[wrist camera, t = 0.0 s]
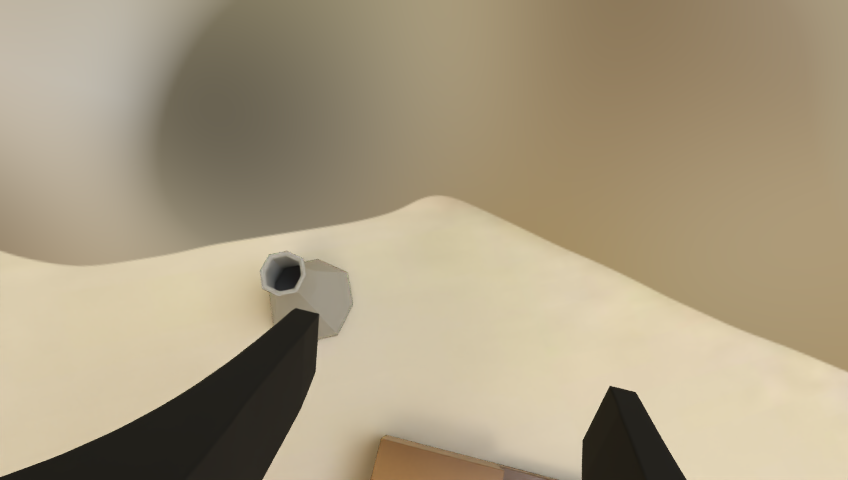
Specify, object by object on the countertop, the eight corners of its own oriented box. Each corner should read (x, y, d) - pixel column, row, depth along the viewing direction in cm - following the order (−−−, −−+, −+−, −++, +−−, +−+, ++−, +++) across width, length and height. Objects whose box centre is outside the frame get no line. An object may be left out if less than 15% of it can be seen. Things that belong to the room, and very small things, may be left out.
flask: (359, 264, 47) (342, 228, 38) (347, 347, 45) (326, 331, 36) (278, 255, 48) (241, 218, 38) (262, 337, 45) (219, 320, 36)
